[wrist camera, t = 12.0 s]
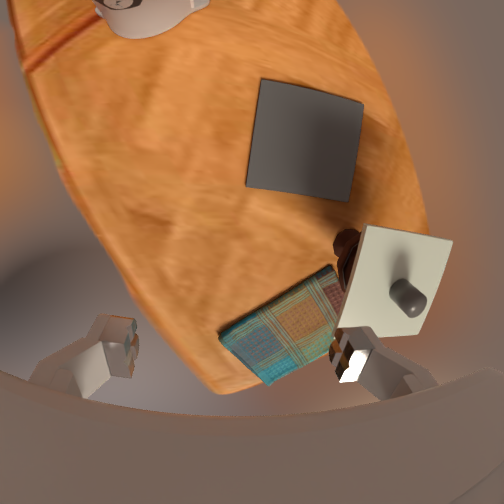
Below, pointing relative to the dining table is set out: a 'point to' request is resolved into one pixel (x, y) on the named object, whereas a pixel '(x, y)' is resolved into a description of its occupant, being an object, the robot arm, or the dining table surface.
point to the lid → (393, 280)
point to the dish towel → (288, 328)
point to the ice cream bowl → (346, 254)
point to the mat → (304, 142)
